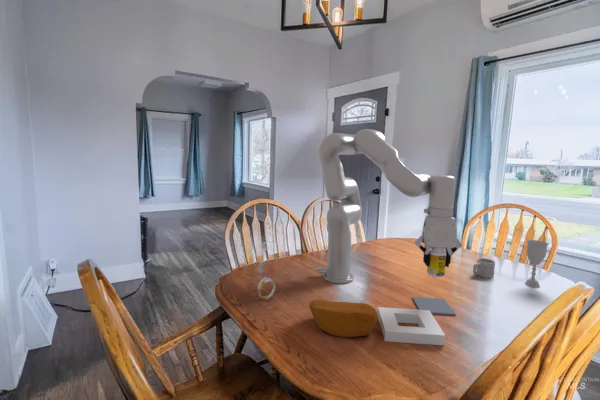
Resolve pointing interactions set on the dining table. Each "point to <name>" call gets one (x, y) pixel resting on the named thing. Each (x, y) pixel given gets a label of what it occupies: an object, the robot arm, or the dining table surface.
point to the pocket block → (420, 335)
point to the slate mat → (434, 305)
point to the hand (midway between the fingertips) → (436, 264)
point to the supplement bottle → (437, 262)
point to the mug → (484, 268)
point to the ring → (263, 285)
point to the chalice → (535, 258)
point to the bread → (344, 317)
